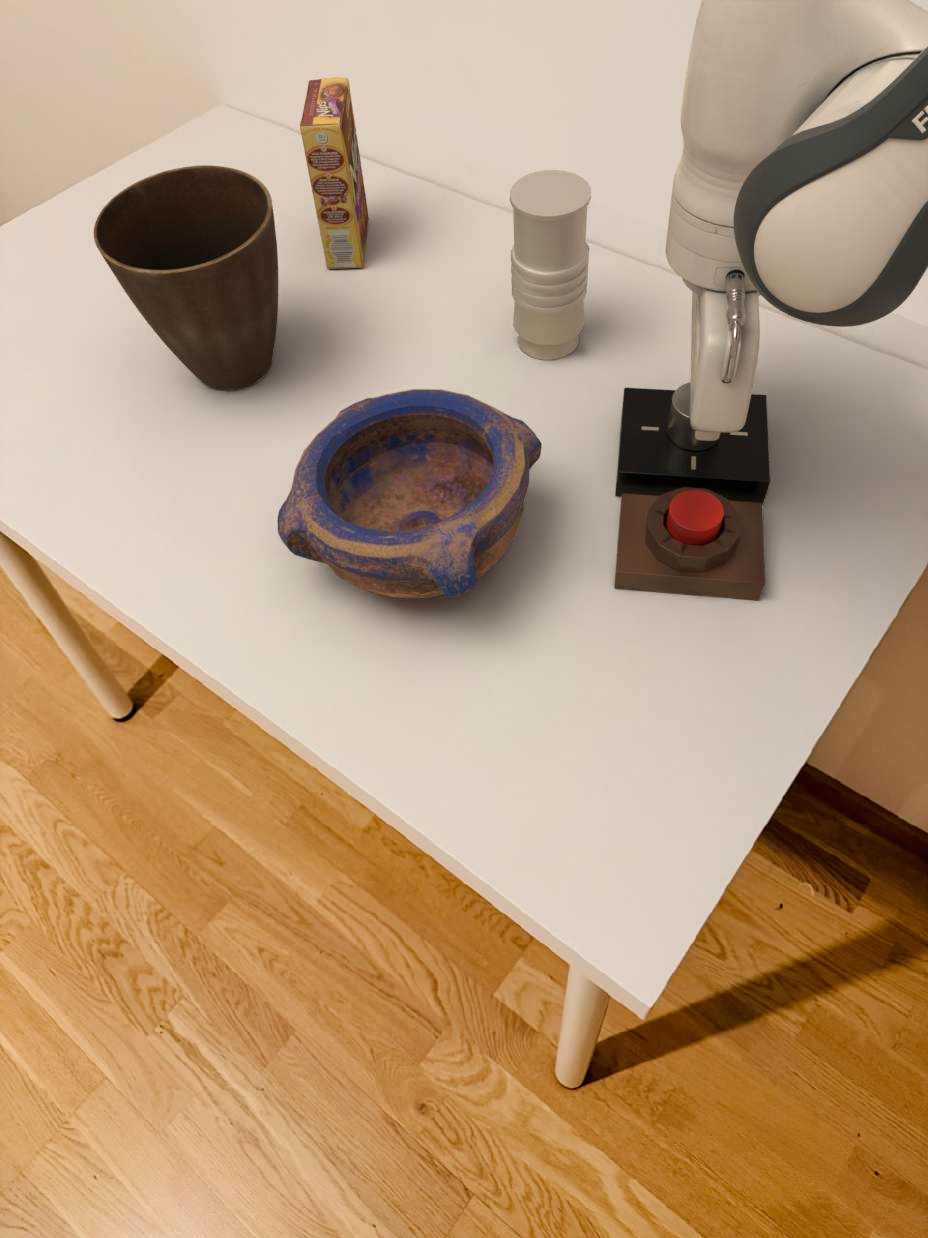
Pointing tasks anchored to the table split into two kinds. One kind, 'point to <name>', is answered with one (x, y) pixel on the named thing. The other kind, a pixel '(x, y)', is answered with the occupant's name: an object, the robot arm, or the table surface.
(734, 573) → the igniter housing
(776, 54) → the robot arm
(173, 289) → the flower pot
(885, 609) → the table surface
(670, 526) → the igniter button
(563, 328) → the beige ribbed cylinder
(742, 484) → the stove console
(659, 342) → the table surface
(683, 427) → the knob
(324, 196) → the candy box
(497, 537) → the bowl
